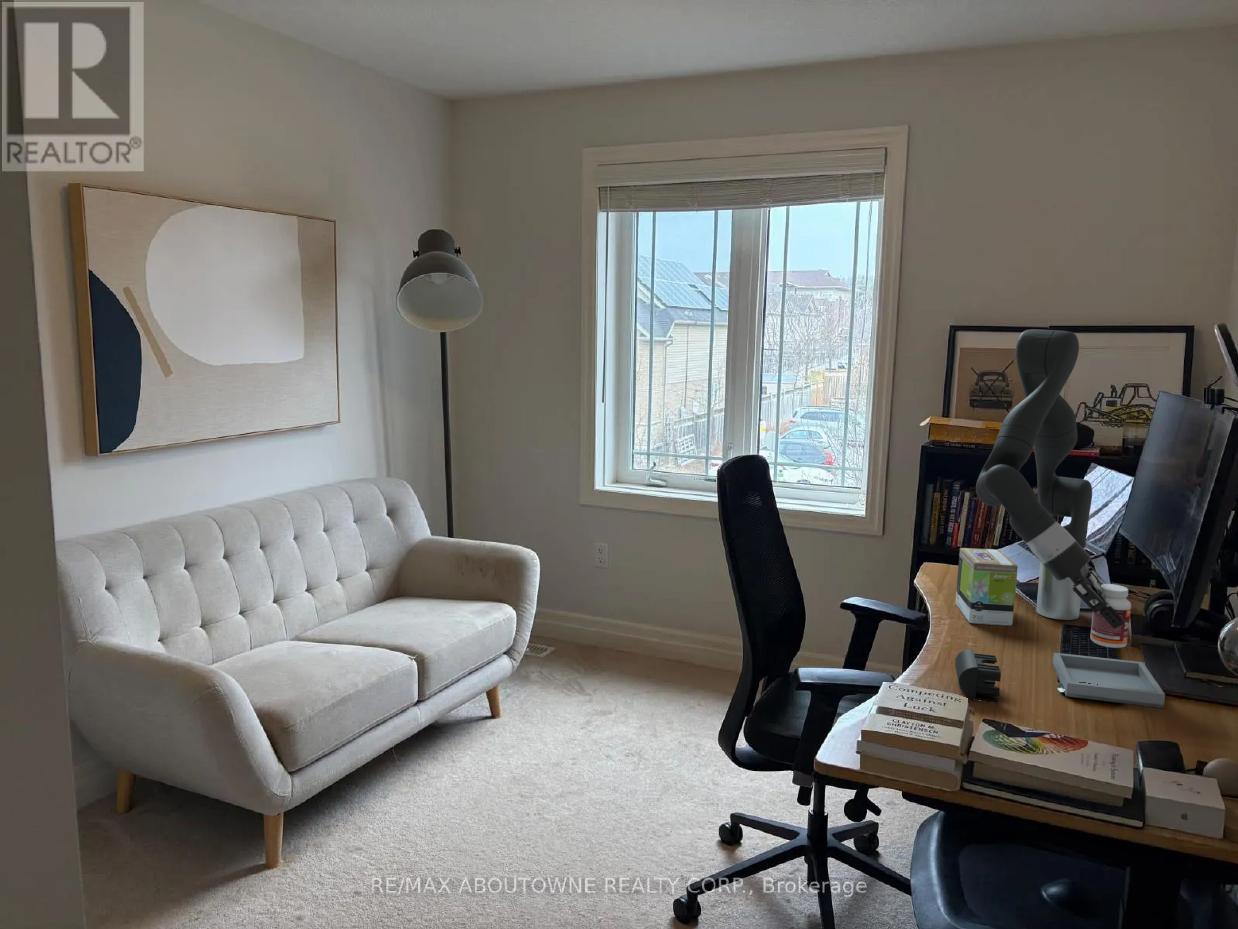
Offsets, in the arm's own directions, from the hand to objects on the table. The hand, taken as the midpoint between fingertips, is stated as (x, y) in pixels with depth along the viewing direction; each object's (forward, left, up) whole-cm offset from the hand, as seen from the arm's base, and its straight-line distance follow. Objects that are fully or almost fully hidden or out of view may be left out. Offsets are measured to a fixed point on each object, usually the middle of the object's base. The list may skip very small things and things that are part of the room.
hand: (1120, 620), depth 165 cm
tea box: (-37, -21, -14) cm, 45 cm away
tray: (0, -2, -13) cm, 13 cm away
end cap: (+11, -26, -14) cm, 31 cm away
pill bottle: (0, -2, -5) cm, 5 cm away
